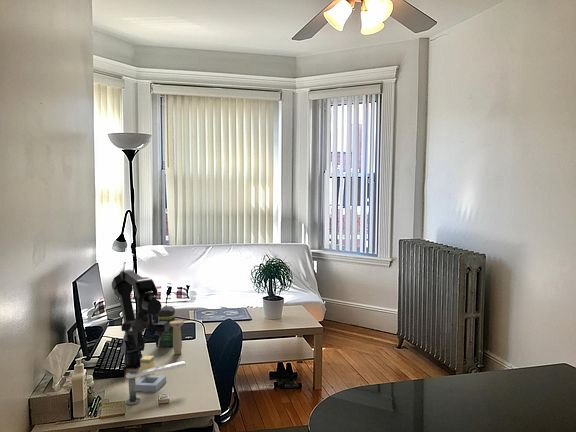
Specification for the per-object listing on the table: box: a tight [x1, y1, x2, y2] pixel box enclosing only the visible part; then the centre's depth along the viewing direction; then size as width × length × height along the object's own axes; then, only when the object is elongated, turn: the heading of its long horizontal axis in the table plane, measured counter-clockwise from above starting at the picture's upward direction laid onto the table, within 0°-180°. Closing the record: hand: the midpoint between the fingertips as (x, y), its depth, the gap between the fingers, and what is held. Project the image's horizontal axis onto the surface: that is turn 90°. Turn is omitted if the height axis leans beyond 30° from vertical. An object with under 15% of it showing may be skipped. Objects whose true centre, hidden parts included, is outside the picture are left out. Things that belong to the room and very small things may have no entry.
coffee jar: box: [157, 305, 176, 348], centre depth 240 cm, size 10×8×19 cm
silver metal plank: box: [125, 360, 187, 380], centre depth 182 cm, size 22×4×1 cm, turn 122°
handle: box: [169, 319, 185, 355], centre depth 227 cm, size 5×6×15 cm
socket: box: [135, 374, 167, 393], centre depth 192 cm, size 9×9×2 cm
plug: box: [140, 355, 156, 378], centre depth 201 cm, size 4×4×8 cm
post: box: [125, 378, 141, 406], centre depth 178 cm, size 5×5×9 cm
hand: (146, 346), depth 201 cm, fingers open, 9 cm apart
